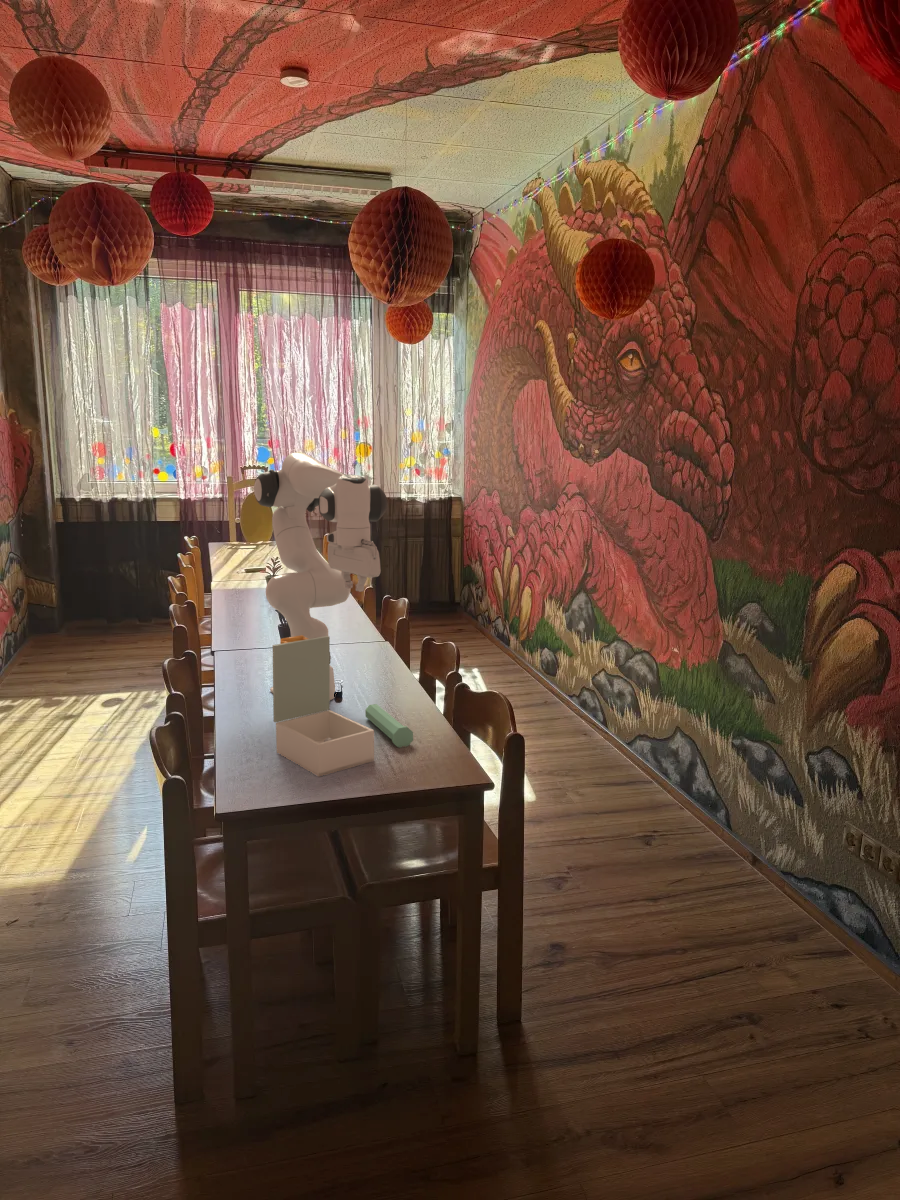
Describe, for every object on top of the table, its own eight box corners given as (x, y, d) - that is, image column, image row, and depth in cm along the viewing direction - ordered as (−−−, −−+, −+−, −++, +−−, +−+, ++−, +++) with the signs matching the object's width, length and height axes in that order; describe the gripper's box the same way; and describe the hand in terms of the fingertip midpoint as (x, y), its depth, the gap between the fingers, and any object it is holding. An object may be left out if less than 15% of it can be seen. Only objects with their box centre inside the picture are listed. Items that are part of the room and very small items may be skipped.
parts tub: (276, 752, 219) (275, 722, 217) (330, 738, 229) (329, 709, 227) (318, 776, 204) (318, 744, 202) (374, 760, 214) (374, 730, 212)
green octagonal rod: (365, 698, 244) (397, 724, 222) (384, 703, 247) (417, 729, 225) (358, 717, 244) (389, 745, 222) (376, 722, 247) (409, 750, 225)
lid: (275, 722, 217) (263, 715, 222) (329, 709, 227) (317, 703, 232) (274, 646, 213) (262, 640, 217) (329, 636, 223) (317, 631, 227)
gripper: (386, 541, 220) (386, 594, 222) (343, 533, 235) (343, 582, 238) (365, 543, 216) (366, 597, 219) (323, 534, 231) (324, 585, 234)
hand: (354, 589), depth 228 cm, fingers open, 4 cm apart
